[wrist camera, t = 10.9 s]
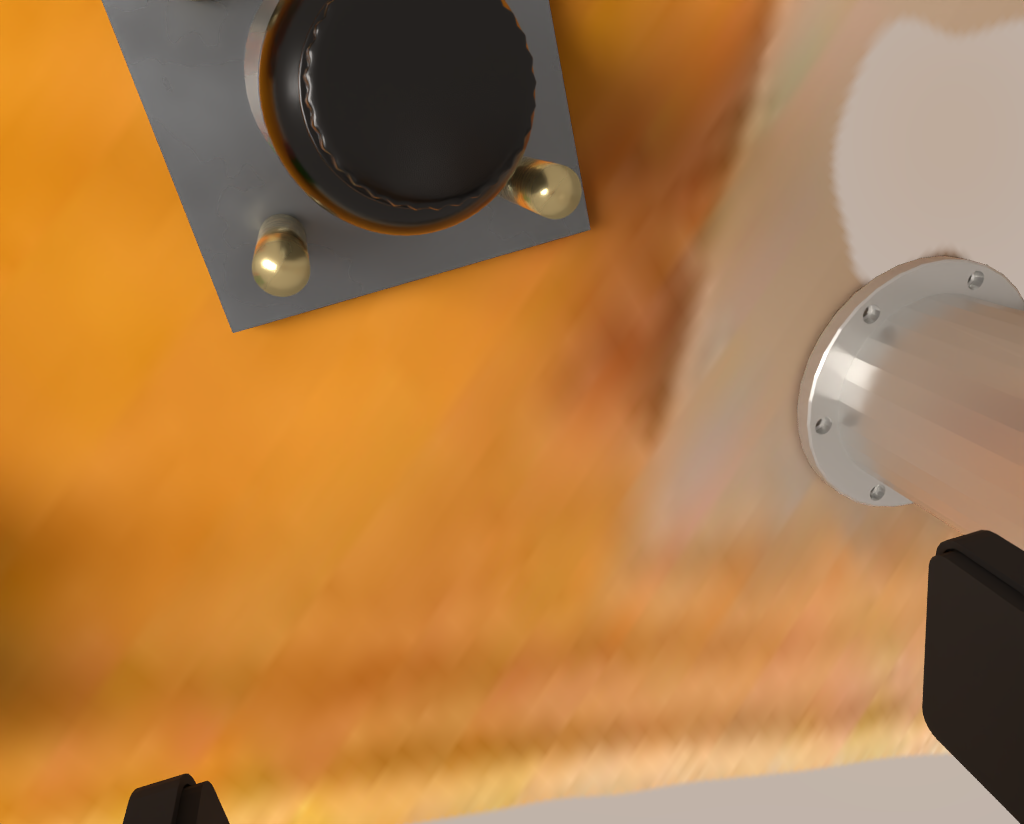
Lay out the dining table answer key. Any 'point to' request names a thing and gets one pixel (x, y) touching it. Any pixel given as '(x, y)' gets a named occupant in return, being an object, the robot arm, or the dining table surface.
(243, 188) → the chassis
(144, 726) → the dining table surface
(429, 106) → the supplement bottle
